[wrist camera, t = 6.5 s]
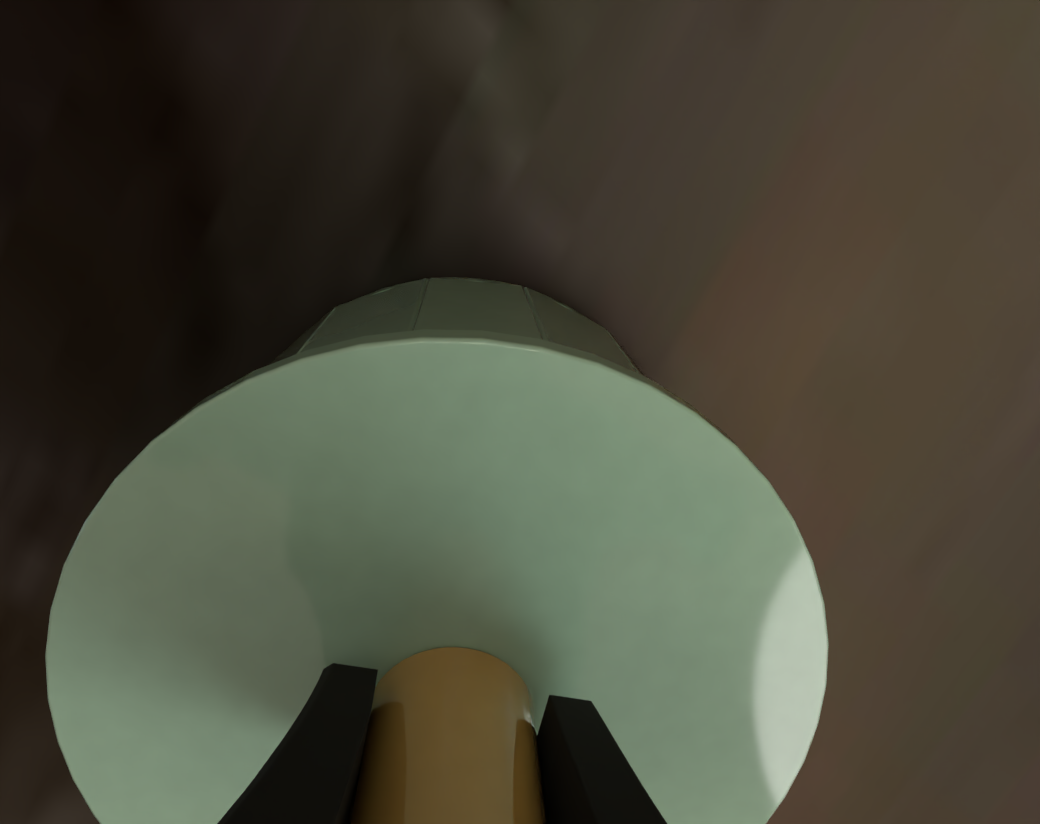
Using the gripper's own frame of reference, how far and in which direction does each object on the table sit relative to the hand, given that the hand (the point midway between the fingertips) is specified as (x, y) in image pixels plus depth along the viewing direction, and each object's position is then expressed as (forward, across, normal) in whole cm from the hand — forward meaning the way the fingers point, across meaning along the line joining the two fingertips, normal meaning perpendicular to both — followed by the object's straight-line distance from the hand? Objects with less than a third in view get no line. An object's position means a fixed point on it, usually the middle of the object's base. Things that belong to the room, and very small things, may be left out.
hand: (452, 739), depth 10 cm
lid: (+1, 0, 0) cm, 1 cm away
